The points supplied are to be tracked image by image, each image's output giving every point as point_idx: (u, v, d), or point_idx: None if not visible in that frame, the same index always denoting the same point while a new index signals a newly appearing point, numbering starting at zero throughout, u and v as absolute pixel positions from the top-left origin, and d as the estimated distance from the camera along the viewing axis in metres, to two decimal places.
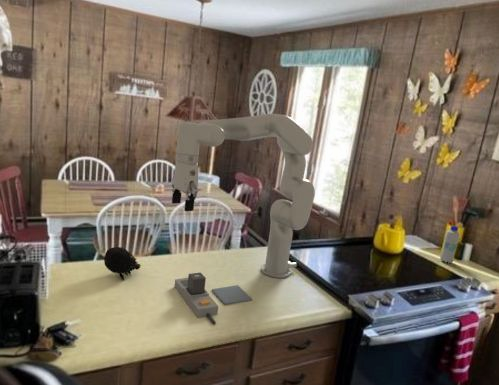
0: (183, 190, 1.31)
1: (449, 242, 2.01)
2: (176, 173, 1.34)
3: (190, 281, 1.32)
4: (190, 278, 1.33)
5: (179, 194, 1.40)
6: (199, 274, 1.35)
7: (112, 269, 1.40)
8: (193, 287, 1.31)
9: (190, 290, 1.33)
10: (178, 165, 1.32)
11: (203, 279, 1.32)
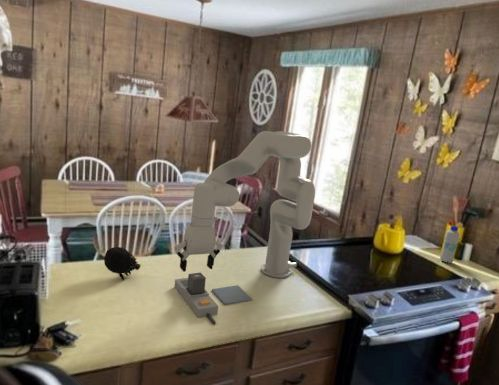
0: (210, 251, 1.31)
1: (449, 242, 2.01)
2: (197, 239, 1.27)
3: (190, 281, 1.32)
4: (190, 278, 1.33)
5: None
6: (199, 274, 1.35)
7: (112, 269, 1.40)
8: (193, 287, 1.31)
9: (190, 290, 1.33)
10: (202, 230, 1.27)
11: (203, 279, 1.32)
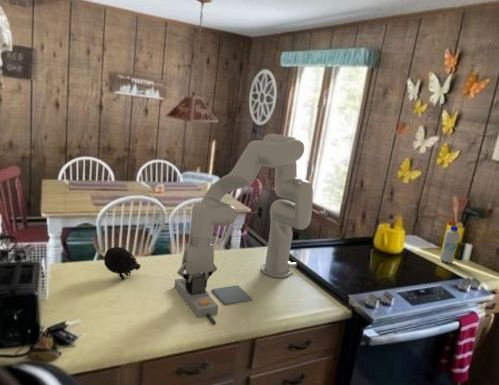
0: (209, 270, 1.33)
1: (449, 242, 2.01)
2: (196, 259, 1.29)
3: None
4: None
5: None
6: (199, 274, 1.35)
7: (112, 269, 1.40)
8: (193, 287, 1.31)
9: None
10: (200, 250, 1.29)
11: (203, 279, 1.32)
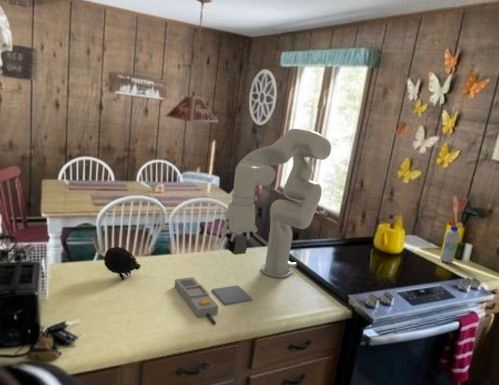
0: (251, 229, 1.36)
1: (449, 242, 2.01)
2: (239, 218, 1.32)
3: (233, 240, 1.36)
4: None
5: None
6: (240, 234, 1.38)
7: (112, 269, 1.40)
8: (235, 245, 1.34)
9: None
10: (243, 209, 1.32)
11: (245, 238, 1.36)
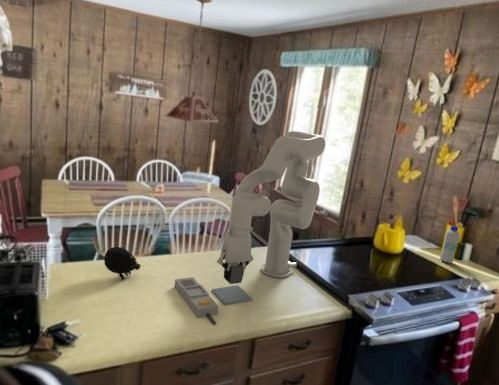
0: (247, 259, 1.39)
1: (449, 242, 2.01)
2: (235, 248, 1.34)
3: None
4: None
5: None
6: (237, 264, 1.40)
7: (112, 269, 1.40)
8: (231, 275, 1.37)
9: None
10: (240, 240, 1.34)
11: (241, 268, 1.38)
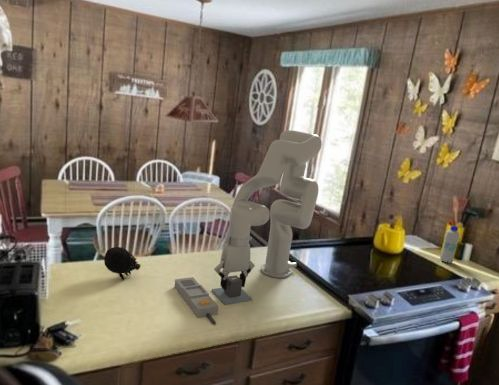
0: (246, 268, 1.39)
1: (449, 242, 2.01)
2: (234, 258, 1.35)
3: (228, 283, 1.39)
4: (227, 281, 1.40)
5: None
6: (235, 277, 1.41)
7: (112, 269, 1.40)
8: (230, 289, 1.38)
9: (227, 292, 1.40)
10: (239, 250, 1.35)
11: (240, 282, 1.39)
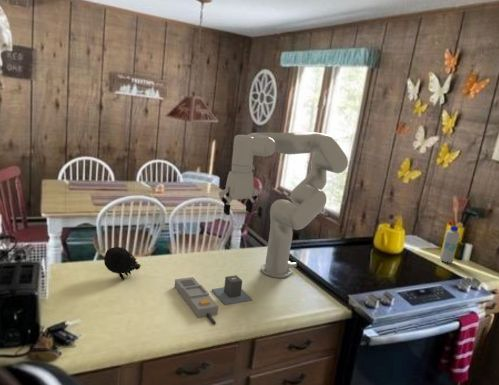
0: (250, 196, 1.46)
1: (449, 242, 2.01)
2: (239, 185, 1.42)
3: (228, 283, 1.39)
4: (227, 281, 1.40)
5: None
6: (235, 277, 1.41)
7: (112, 269, 1.40)
8: (230, 289, 1.38)
9: (227, 292, 1.40)
10: (243, 177, 1.42)
11: (240, 282, 1.39)
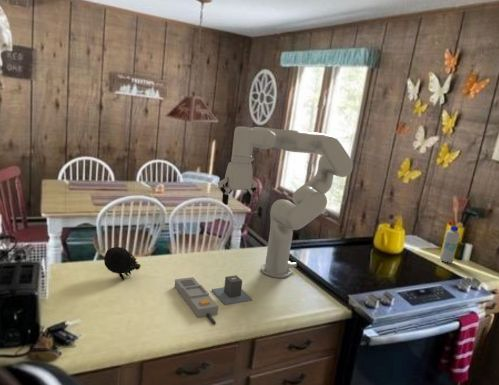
0: (248, 187, 1.49)
1: (449, 242, 2.01)
2: (237, 175, 1.45)
3: (228, 283, 1.39)
4: (227, 281, 1.40)
5: None
6: (235, 277, 1.41)
7: (112, 269, 1.40)
8: (230, 289, 1.38)
9: (227, 292, 1.40)
10: (242, 167, 1.45)
11: (240, 282, 1.39)
